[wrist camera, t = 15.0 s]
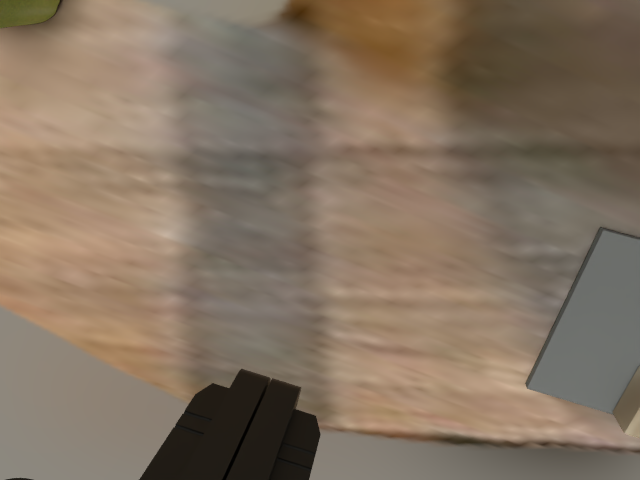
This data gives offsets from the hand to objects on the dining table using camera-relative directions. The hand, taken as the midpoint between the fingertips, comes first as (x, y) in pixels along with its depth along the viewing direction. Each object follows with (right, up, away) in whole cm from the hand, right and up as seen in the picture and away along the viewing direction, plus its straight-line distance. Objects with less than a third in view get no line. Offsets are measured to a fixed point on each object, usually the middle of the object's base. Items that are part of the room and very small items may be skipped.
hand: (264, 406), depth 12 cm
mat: (+25, -3, +25) cm, 36 cm away
